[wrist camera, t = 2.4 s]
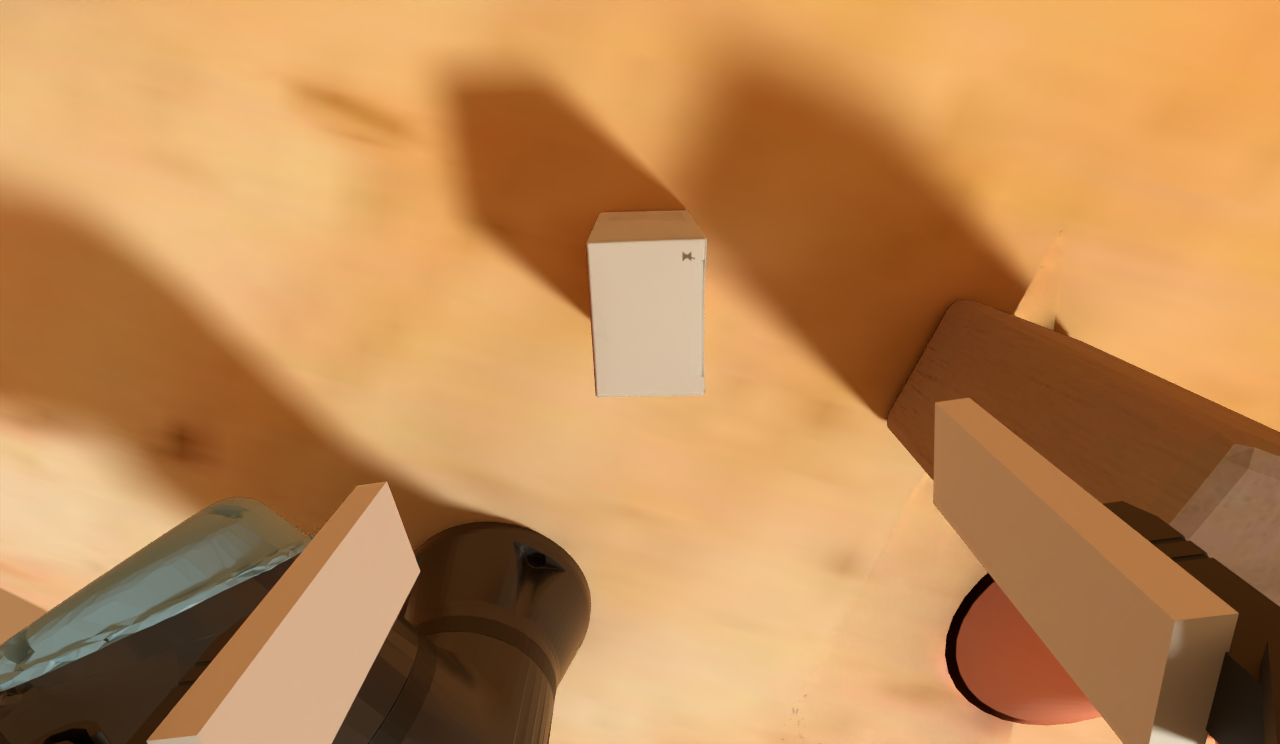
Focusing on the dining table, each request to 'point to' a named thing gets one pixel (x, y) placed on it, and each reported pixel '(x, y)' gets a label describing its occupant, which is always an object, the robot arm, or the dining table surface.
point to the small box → (647, 303)
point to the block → (1108, 432)
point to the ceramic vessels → (1009, 663)
